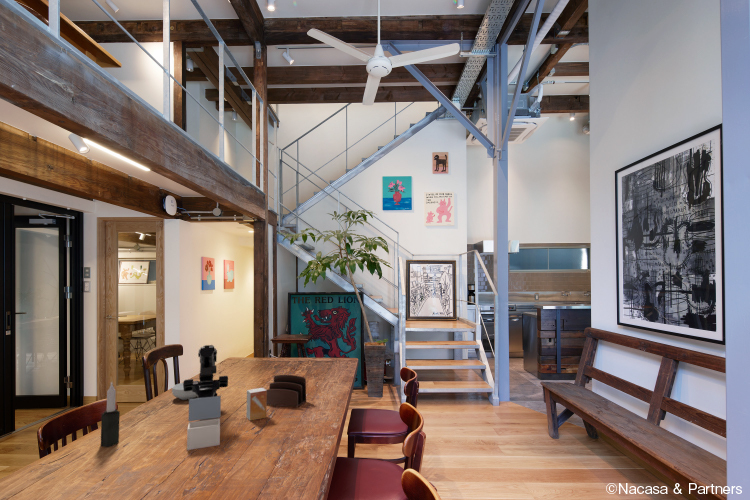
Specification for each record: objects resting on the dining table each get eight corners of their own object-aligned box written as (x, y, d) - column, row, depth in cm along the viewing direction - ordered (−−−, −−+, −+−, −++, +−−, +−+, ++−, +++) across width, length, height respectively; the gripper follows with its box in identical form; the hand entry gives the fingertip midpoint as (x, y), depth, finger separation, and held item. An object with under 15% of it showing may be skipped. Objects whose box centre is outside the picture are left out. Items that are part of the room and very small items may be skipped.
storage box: (188, 442, 162) (188, 422, 162) (219, 437, 166) (219, 418, 167) (187, 450, 154) (187, 429, 155) (219, 444, 159) (219, 424, 159)
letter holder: (274, 399, 218) (274, 373, 219) (306, 402, 213) (306, 375, 214) (264, 404, 209) (264, 378, 210) (297, 408, 203) (297, 380, 204)
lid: (188, 421, 163) (188, 420, 164) (220, 417, 167) (220, 416, 168) (189, 399, 164) (189, 399, 165) (220, 396, 169) (220, 395, 170)
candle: (120, 442, 162) (121, 381, 164) (108, 447, 158) (110, 384, 159) (111, 441, 164) (113, 380, 166) (99, 446, 159) (101, 383, 161)
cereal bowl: (195, 402, 214) (195, 389, 215) (165, 402, 214) (165, 389, 215) (209, 393, 231) (209, 380, 232) (181, 393, 231) (181, 381, 232)
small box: (249, 421, 185) (250, 393, 186) (246, 417, 190) (246, 389, 191) (266, 417, 189) (267, 390, 190) (262, 413, 195) (262, 387, 196)
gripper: (184, 361, 176) (181, 393, 165) (228, 358, 183) (228, 388, 172) (185, 375, 183) (182, 406, 172) (227, 371, 190) (227, 401, 179)
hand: (205, 400), depth 173 cm, fingers open, 4 cm apart
